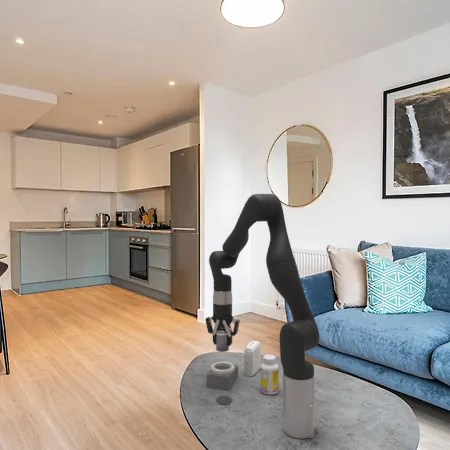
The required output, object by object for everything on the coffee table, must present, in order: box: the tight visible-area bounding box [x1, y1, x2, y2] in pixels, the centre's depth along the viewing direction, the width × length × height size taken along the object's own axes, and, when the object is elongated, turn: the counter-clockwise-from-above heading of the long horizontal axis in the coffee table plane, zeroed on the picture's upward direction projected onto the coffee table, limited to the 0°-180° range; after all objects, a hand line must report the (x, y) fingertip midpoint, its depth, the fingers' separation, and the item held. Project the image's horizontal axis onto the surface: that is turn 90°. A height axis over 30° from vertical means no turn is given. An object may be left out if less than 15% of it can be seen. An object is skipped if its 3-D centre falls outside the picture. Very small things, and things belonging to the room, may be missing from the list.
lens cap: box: [215, 395, 233, 406], centre depth 128 cm, size 6×6×1 cm
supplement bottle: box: [260, 354, 280, 396], centre depth 135 cm, size 7×7×13 cm
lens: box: [215, 328, 230, 353], centre depth 143 cm, size 5×5×8 cm
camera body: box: [206, 361, 239, 391], centre depth 143 cm, size 9×12×6 cm
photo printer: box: [243, 340, 262, 377], centre depth 153 cm, size 10×4×12 cm, turn 152°
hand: (222, 344), depth 143 cm, fingers closed on lens, 5 cm apart
